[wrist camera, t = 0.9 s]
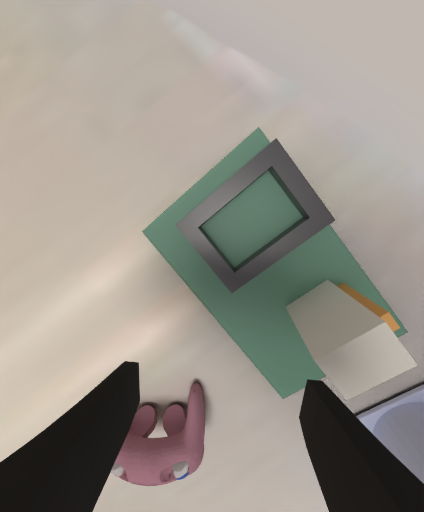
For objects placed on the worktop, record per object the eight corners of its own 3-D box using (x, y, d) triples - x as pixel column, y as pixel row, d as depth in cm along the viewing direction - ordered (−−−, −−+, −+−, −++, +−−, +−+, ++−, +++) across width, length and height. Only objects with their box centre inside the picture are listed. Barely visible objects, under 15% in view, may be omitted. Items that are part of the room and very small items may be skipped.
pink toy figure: (129, 398, 24) (103, 485, 19) (111, 382, 22) (74, 480, 16) (210, 395, 23) (207, 489, 18) (202, 379, 20) (196, 483, 15)
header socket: (326, 219, 16) (335, 220, 14) (231, 286, 17) (231, 293, 16) (272, 145, 15) (276, 138, 13) (180, 224, 17) (175, 225, 15)
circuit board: (398, 325, 18) (408, 332, 17) (280, 389, 20) (283, 398, 19) (257, 132, 16) (258, 127, 15) (146, 230, 18) (142, 231, 17)
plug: (357, 302, 17) (433, 357, 10) (306, 332, 18) (346, 400, 11) (336, 273, 16) (401, 312, 10) (285, 306, 17) (314, 361, 11)
